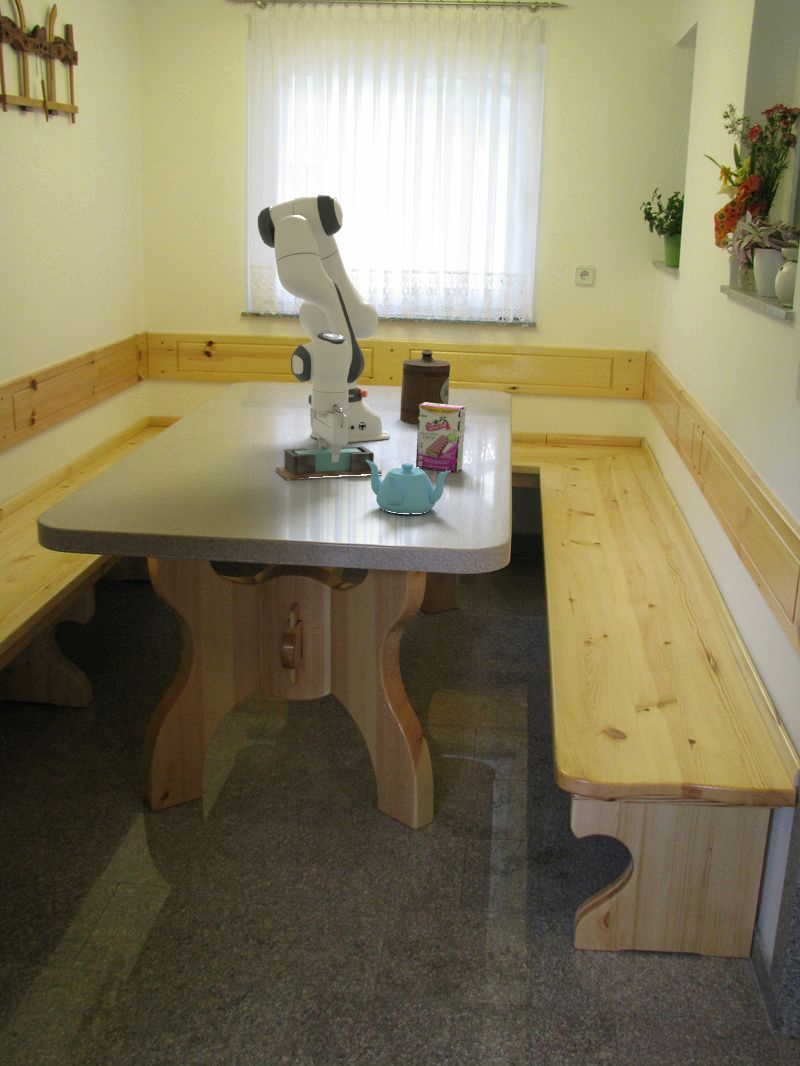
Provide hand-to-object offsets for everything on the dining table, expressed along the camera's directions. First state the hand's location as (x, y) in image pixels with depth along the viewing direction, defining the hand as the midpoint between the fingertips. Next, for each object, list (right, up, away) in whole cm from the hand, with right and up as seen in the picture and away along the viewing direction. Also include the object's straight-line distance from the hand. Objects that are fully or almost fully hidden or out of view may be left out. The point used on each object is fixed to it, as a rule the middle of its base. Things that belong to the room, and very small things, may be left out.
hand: (328, 457), depth 271 cm
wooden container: (+25, +17, +75) cm, 81 cm away
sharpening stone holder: (0, -4, +1) cm, 4 cm away
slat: (0, -3, +1) cm, 3 cm away
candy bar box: (+27, -2, +10) cm, 29 cm away
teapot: (+18, -14, -30) cm, 38 cm away
